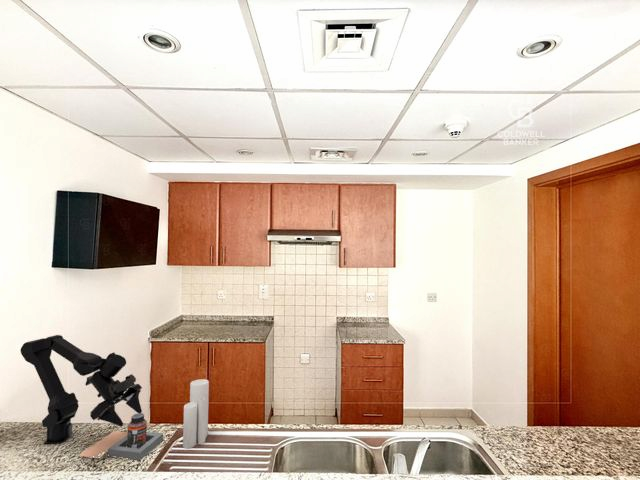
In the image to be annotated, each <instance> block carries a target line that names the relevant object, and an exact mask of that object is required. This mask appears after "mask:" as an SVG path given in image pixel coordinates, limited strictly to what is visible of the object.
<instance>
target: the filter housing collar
mask: <svg viewBox="0 0 640 480" xmlns="http://www.w3.org/2000/svg"><path fill="white" fill-rule="evenodd" d="M146 438H147V439H146V443H145V444H144V445H143V446H142V447H140V448H139V449H138V448H129V447H126V446H127V436H125V437H124V438H123V439H121V440H120V441H118V442H117V443H116V444H114V445H113V446H111V447H110V448H109V449H108V453H107V456H108V455H109V456H116V457H123V458H122V459H124V458H128V459H127V460H132V459H133V461H141V460H142V459H143V458H144V457H146V456H147V455H148V454H149V453H150V452H151V451H153V450H155V448H156V447H157V446H159V444H161V443H162V442H163V441H164V433H162V432H161V433H160V432H153V431H146ZM116 457H115V458H116Z"/></svg>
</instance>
